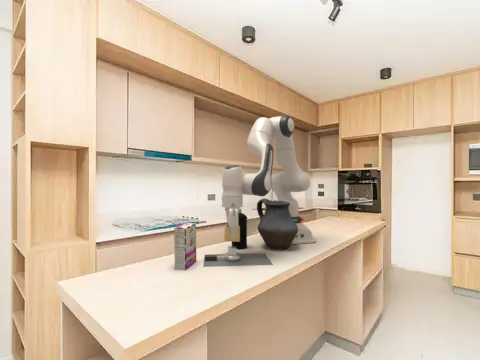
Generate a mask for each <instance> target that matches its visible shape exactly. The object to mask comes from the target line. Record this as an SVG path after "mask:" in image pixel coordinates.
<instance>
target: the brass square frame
mask: <svg viewBox="0 0 480 360" xmlns="http://www.w3.org/2000/svg"><path fill="white" fill-rule="evenodd" d="M223 229H224V230H223V231H224V232H223V233H224V235H223V236H224V237H223V238H224V242H225V243H228V242H229V243H232V242H239V241H240V226H239V225H238V228H236V230H235V237H231V236H230V227H229V225H228V224H224V228H223Z"/></svg>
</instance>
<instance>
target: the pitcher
mask: <svg viewBox="0 0 480 360" xmlns="http://www.w3.org/2000/svg"><path fill="white" fill-rule="evenodd" d="M263 204H264V207H265V211H264V212H263ZM289 205H290V202H285V201H278V200H270V199H268V198H261V199H259V200H258V201H257V202H256V210H257V214H258V217H259V223H258V225H257V230H258V233H259V235H260V236H261V238H262V240H263V242H264V244H265V245H266V247H267V248H269V249H271V250H281V251H282V250H287V249H289V248H290V246H291V245H292V244H291V243H292V241H293V239H294V238H295V236H296V234H297V232H298V227H297V225H296V223H295V222H294V221H293V219H292V217H291V215H290V212H289Z"/></svg>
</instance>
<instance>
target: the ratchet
mask: <svg viewBox="0 0 480 360" xmlns="http://www.w3.org/2000/svg"><path fill="white" fill-rule="evenodd" d="M223 254H224V255H223V256H217V255H208V254H204V256H205V261H227V262H237V261H240V254H241V253H239V252H237V250H236V246H232V245H228V246H227V252H225V253H223Z"/></svg>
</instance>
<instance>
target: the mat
mask: <svg viewBox="0 0 480 360" xmlns="http://www.w3.org/2000/svg"><path fill="white" fill-rule="evenodd" d="M224 254H225V253H221V254H220V253H218V254H216V253H215V254H213V253H212V254H207V255H217V256H223V255H224ZM239 254H240V261H237V262H227V261H205V255H204V256H203V264H202V268H209V267H210V268H213V267H214V268H215V267H243V266H244V267H246V266H247V267H248V266H253V267H254V266H274V264H273V262H272V261H271V259H270V258H269V256H268V255H267V254H266V253H265V252H261V253H259V252H258V253H254V252H253V253H239Z"/></svg>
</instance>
